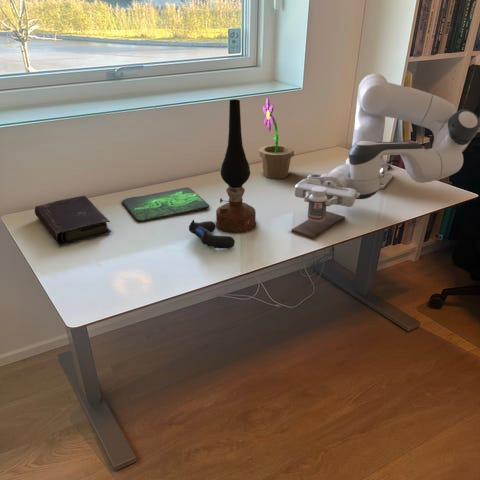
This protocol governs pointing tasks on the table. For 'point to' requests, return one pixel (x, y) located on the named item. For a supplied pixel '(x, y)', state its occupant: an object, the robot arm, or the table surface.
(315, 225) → the walnut board
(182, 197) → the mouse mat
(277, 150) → the flowerpot
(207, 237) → the gaming controller
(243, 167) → the oil lamp
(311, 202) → the pill bottle
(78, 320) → the table surface
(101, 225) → the diary
